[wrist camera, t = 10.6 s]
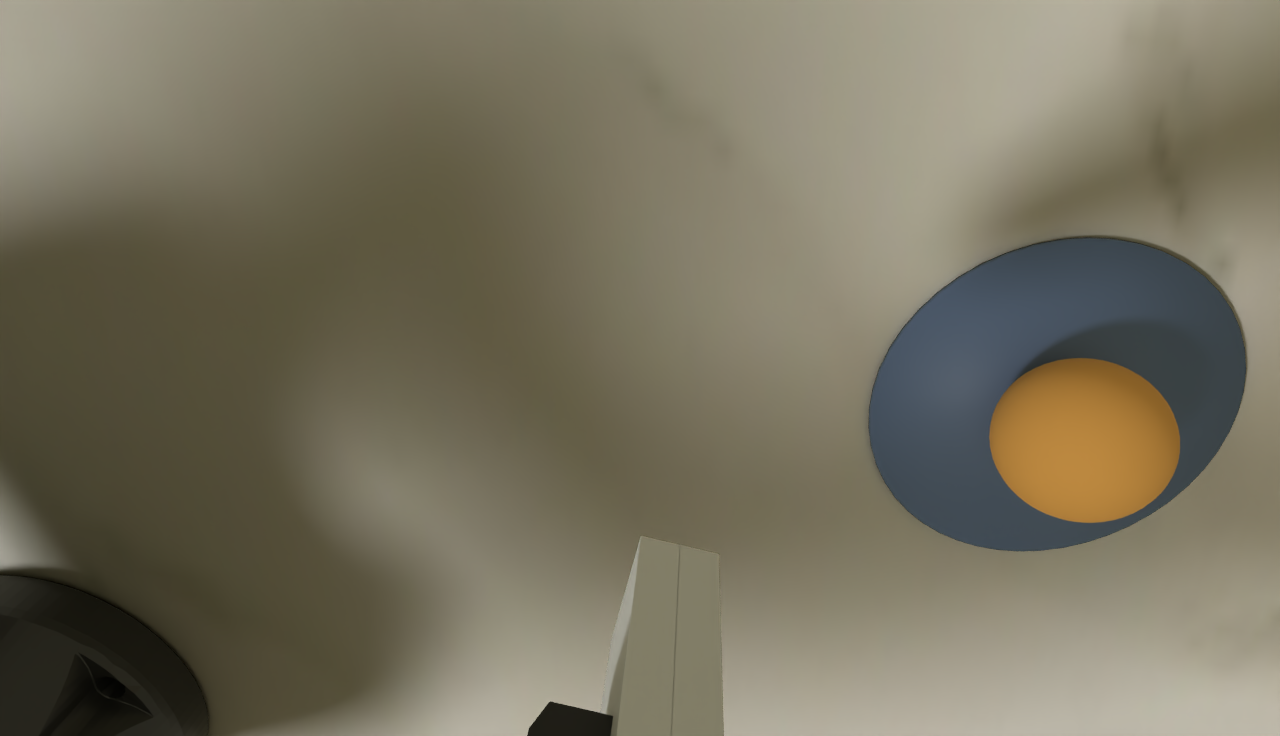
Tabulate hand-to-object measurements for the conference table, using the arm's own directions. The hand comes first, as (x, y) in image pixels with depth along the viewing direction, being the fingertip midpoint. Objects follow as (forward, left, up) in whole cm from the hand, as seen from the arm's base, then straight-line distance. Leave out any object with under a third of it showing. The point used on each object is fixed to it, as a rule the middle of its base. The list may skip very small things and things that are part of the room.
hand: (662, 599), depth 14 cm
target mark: (+14, 0, -14) cm, 20 cm away
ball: (+14, 0, -12) cm, 18 cm away
